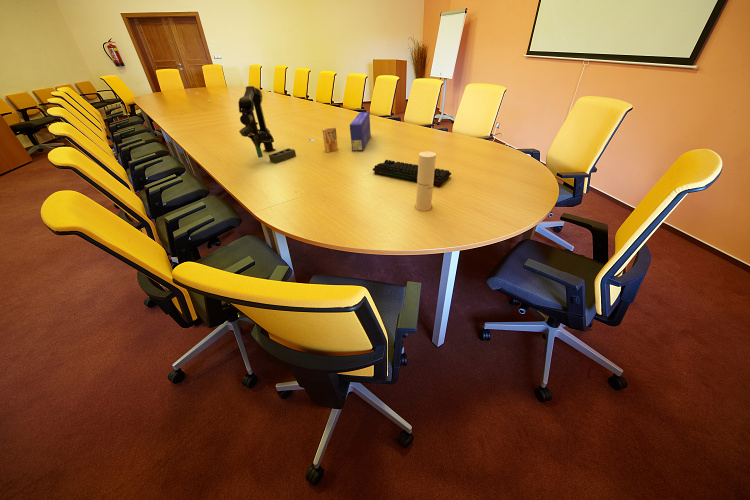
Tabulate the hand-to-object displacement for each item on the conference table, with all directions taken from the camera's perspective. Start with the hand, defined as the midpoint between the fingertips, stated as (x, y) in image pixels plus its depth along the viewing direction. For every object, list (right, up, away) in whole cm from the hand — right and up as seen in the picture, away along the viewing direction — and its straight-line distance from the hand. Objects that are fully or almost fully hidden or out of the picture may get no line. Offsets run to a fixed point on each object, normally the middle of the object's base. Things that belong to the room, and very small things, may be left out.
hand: (257, 146), depth 187 cm
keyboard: (+97, -24, -20) cm, 102 cm away
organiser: (+13, -4, +11) cm, 18 cm away
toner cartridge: (+66, +15, +34) cm, 76 cm away
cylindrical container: (+99, -47, -50) cm, 121 cm away
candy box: (+45, +5, +23) cm, 50 cm away
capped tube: (0, -5, +4) cm, 6 cm away
